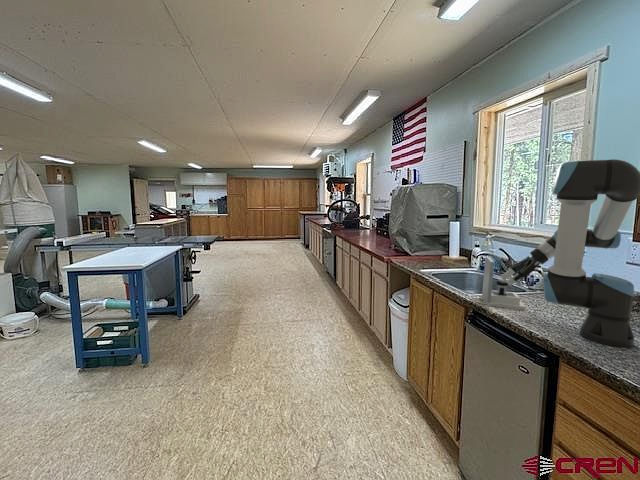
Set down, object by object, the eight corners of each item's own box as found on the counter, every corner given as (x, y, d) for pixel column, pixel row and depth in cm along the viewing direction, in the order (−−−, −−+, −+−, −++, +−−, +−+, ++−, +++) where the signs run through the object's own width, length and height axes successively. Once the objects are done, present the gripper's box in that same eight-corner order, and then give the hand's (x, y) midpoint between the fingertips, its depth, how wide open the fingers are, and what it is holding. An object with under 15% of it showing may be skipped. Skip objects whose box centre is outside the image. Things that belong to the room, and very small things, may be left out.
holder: (524, 309, 153) (529, 264, 151) (486, 305, 158) (490, 261, 156) (516, 299, 170) (520, 258, 168) (482, 296, 175) (485, 256, 173)
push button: (509, 299, 165) (511, 279, 164) (510, 302, 160) (512, 282, 159) (494, 297, 168) (496, 278, 167) (494, 299, 163) (496, 280, 162)
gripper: (558, 263, 144) (516, 292, 151) (540, 256, 168) (505, 281, 174) (545, 250, 146) (504, 280, 152) (529, 245, 169) (494, 271, 175)
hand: (504, 281), depth 163 cm, fingers open, 13 cm apart
